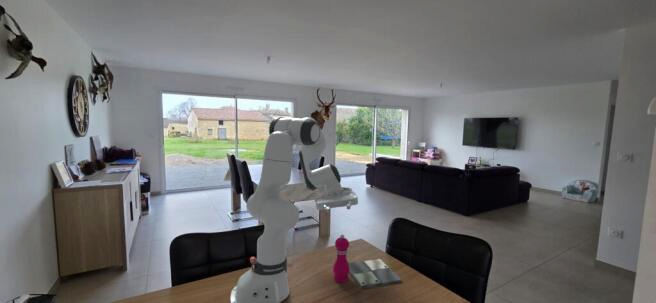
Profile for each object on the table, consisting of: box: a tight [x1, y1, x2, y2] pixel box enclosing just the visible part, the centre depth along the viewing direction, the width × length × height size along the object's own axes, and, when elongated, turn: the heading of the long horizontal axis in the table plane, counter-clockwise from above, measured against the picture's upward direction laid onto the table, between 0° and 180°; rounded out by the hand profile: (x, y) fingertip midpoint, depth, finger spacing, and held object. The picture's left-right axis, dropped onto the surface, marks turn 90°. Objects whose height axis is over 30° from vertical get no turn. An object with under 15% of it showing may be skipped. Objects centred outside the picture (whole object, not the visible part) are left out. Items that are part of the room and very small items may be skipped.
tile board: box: [348, 258, 402, 290], centre depth 124 cm, size 19×19×1 cm
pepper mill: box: [332, 234, 350, 284], centre depth 118 cm, size 7×7×20 cm
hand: (338, 209), depth 125 cm, fingers open, 8 cm apart
